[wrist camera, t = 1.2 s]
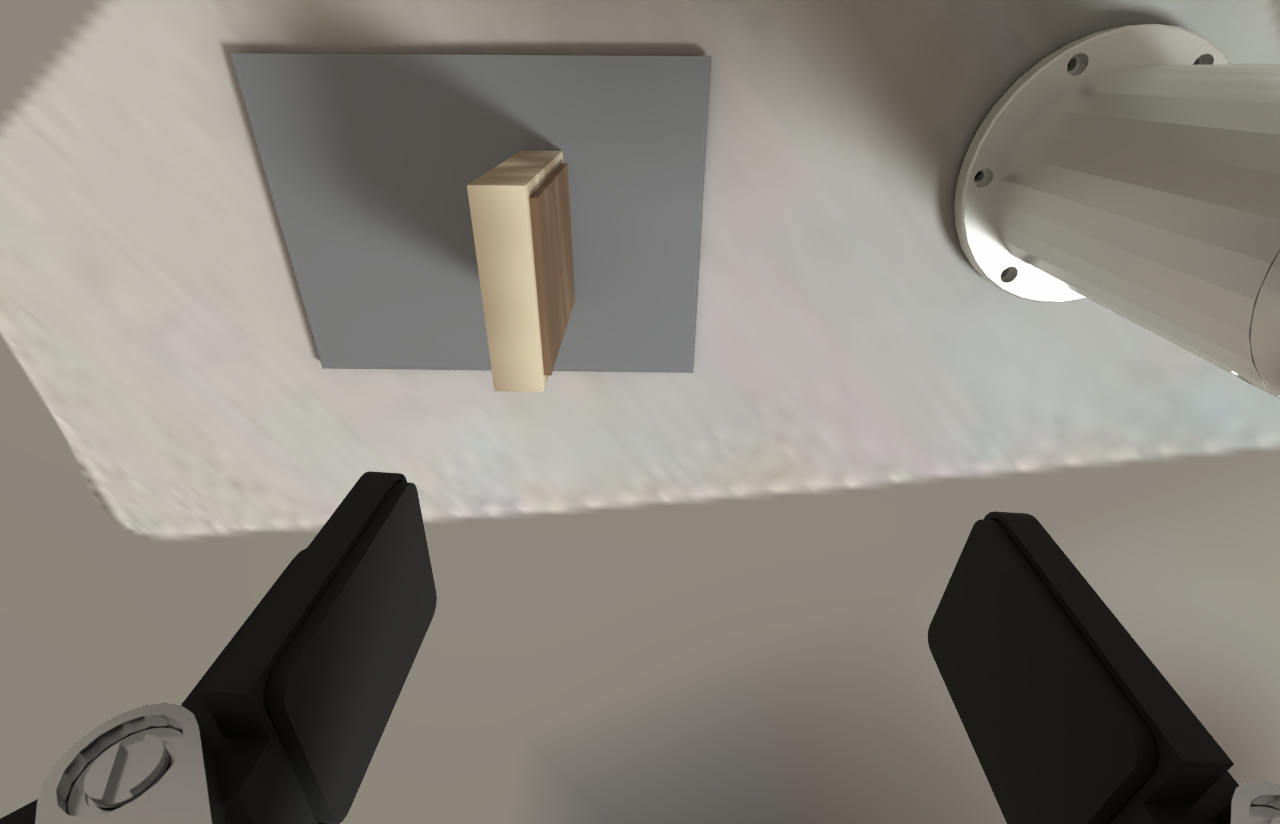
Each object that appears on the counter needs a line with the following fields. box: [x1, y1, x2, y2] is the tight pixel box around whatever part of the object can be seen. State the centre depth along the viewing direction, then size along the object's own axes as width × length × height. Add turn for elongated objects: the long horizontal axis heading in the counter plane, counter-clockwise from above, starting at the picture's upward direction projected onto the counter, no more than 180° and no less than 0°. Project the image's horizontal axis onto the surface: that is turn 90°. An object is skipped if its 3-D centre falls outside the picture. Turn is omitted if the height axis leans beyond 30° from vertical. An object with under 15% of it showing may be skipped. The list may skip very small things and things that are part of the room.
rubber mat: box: [230, 53, 711, 373], centre depth 31 cm, size 22×16×1 cm
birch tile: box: [467, 150, 575, 392], centre depth 27 cm, size 2×8×10 cm, turn 0°
